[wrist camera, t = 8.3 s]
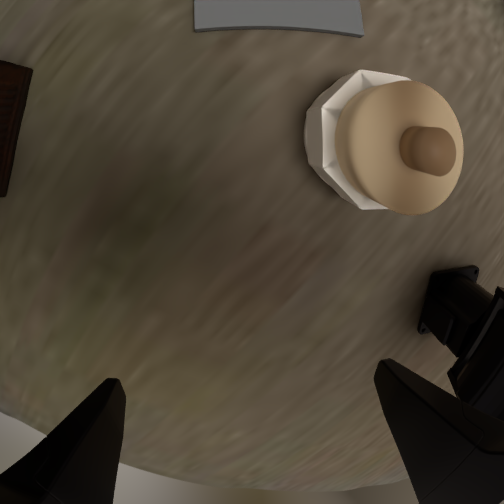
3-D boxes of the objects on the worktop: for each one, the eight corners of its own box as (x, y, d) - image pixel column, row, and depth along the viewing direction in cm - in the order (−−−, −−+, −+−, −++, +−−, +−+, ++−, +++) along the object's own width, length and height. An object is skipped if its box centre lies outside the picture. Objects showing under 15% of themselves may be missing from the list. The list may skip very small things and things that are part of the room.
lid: (432, 94, 14) (484, 92, 10) (431, 201, 16) (479, 223, 12) (331, 80, 13) (371, 63, 9) (334, 204, 16) (372, 230, 12)
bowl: (405, 89, 17) (438, 85, 14) (404, 194, 20) (435, 207, 17) (300, 77, 17) (318, 65, 13) (304, 196, 20) (322, 211, 16)
